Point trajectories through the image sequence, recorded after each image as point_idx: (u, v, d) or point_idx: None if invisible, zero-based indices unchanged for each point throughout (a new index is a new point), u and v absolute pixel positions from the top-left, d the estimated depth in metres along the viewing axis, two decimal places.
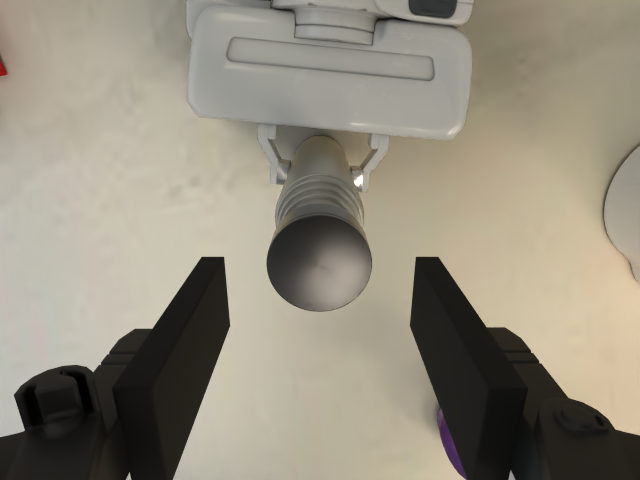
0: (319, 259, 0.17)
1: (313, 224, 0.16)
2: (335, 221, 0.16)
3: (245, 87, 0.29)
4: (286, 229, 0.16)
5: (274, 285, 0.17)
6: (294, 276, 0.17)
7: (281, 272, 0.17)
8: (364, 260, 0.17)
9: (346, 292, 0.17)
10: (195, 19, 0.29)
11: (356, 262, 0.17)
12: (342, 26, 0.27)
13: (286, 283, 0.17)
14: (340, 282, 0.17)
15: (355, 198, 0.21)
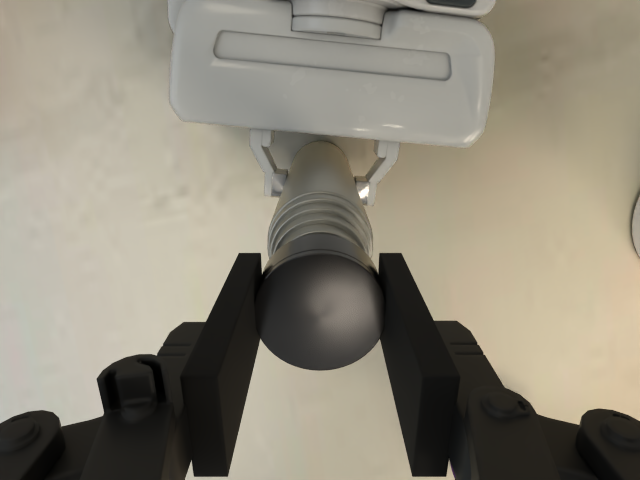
0: (320, 307, 0.13)
1: (312, 264, 0.12)
2: (341, 261, 0.12)
3: (235, 88, 0.25)
4: (278, 271, 0.13)
5: (263, 339, 0.13)
6: (288, 328, 0.13)
7: (272, 323, 0.13)
8: (377, 309, 0.13)
9: (354, 347, 0.14)
10: (178, 10, 0.25)
11: (367, 311, 0.13)
12: (346, 17, 0.23)
13: (278, 336, 0.13)
14: (347, 335, 0.13)
15: (363, 221, 0.18)
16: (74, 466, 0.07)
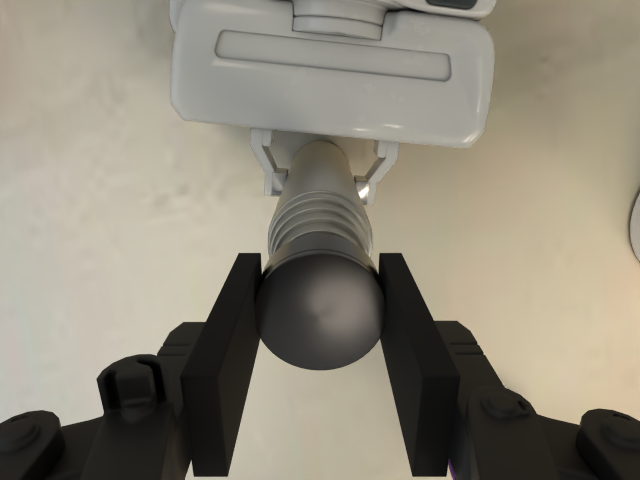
0: (311, 317, 0.13)
1: (271, 337, 0.13)
2: (257, 317, 0.13)
3: (236, 87, 0.26)
4: (289, 361, 0.14)
5: (365, 352, 0.14)
6: (344, 336, 0.13)
7: (344, 350, 0.14)
8: (292, 268, 0.13)
9: (344, 273, 0.13)
10: (179, 9, 0.25)
11: (298, 276, 0.13)
12: (347, 18, 0.23)
13: (357, 341, 0.13)
14: (333, 284, 0.13)
15: (363, 220, 0.18)
16: (74, 466, 0.07)
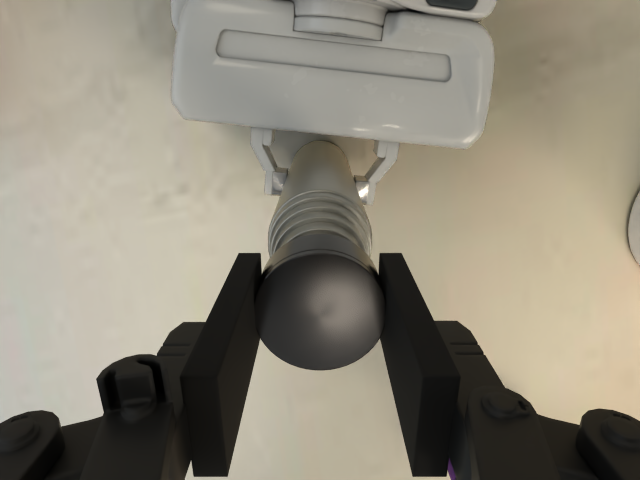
0: (325, 321, 0.13)
1: (360, 346, 0.14)
2: (342, 364, 0.14)
3: (237, 87, 0.26)
4: (381, 324, 0.13)
5: (347, 260, 0.12)
6: (334, 286, 0.13)
7: (351, 280, 0.13)
8: (282, 351, 0.14)
9: (268, 310, 0.13)
10: (181, 9, 0.25)
11: (288, 344, 0.13)
12: (348, 18, 0.23)
13: (336, 272, 0.13)
14: (283, 315, 0.13)
15: (362, 220, 0.18)
16: (74, 466, 0.07)
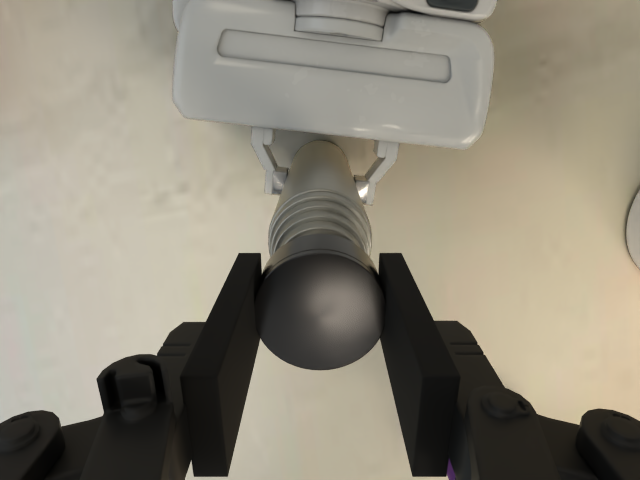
0: (324, 308, 0.13)
1: (341, 268, 0.13)
2: (367, 277, 0.13)
3: (238, 86, 0.26)
4: (307, 258, 0.12)
5: (255, 312, 0.13)
6: (284, 313, 0.13)
7: (272, 302, 0.13)
8: (372, 333, 0.13)
9: (332, 357, 0.14)
10: (183, 8, 0.26)
11: (362, 331, 0.13)
12: (349, 19, 0.23)
13: (270, 316, 0.13)
14: (332, 344, 0.13)
15: (362, 219, 0.18)
16: (74, 466, 0.07)
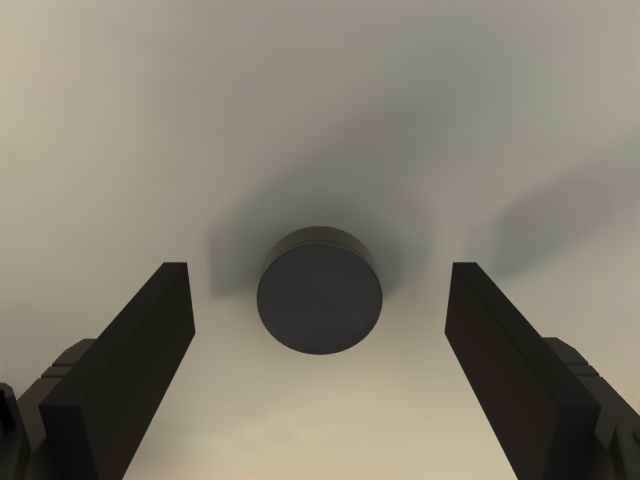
0: (323, 296, 0.14)
1: (339, 257, 0.13)
2: (364, 266, 0.14)
3: None
4: (307, 248, 0.13)
5: (259, 299, 0.14)
6: (286, 300, 0.14)
7: (275, 289, 0.14)
8: (369, 319, 0.14)
9: (330, 342, 0.15)
10: None
11: (359, 317, 0.14)
12: None
13: (273, 303, 0.14)
14: (331, 329, 0.14)
15: None
16: None
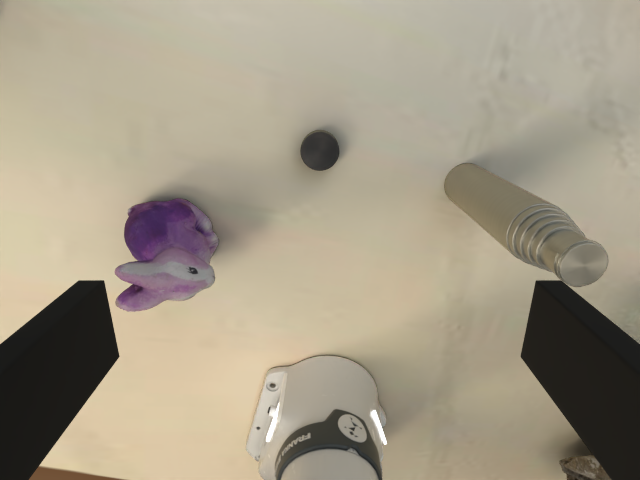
0: (321, 149, 0.46)
1: (325, 136, 0.45)
2: (333, 139, 0.45)
3: None
4: (316, 133, 0.45)
5: (301, 150, 0.46)
6: (309, 150, 0.46)
7: (306, 147, 0.45)
8: (335, 157, 0.46)
9: (323, 165, 0.46)
10: None
11: (332, 156, 0.46)
12: None
13: (305, 151, 0.46)
14: (323, 161, 0.46)
15: None
16: None
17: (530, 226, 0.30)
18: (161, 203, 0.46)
